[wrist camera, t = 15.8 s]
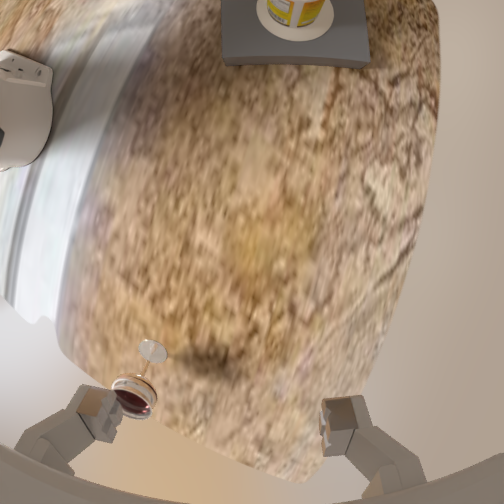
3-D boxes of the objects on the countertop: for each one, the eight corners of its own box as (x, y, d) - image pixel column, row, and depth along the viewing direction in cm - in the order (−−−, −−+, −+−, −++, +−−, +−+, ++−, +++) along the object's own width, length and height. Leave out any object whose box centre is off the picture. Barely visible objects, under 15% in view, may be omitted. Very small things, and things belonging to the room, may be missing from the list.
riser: (226, 66, 31) (221, 57, 27) (224, -14, 27) (220, -29, 23) (359, 69, 30) (371, 61, 26) (351, -10, 26) (360, -23, 22)
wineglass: (150, 328, 44) (123, 381, 33) (181, 356, 46) (162, 412, 35) (126, 346, 46) (98, 396, 35) (155, 372, 48) (134, 424, 37)
